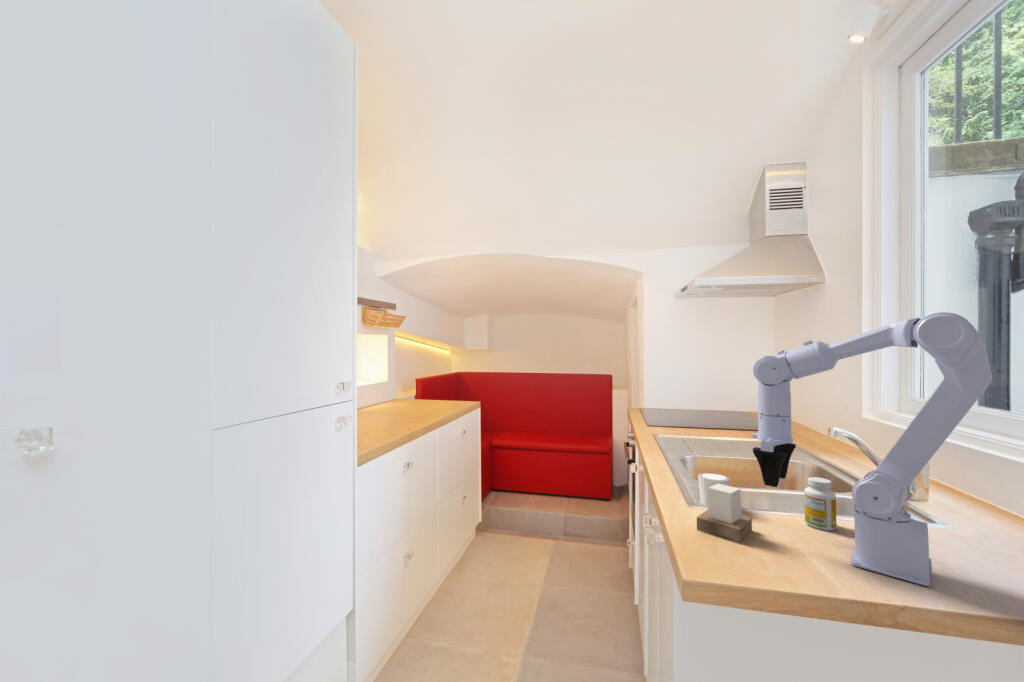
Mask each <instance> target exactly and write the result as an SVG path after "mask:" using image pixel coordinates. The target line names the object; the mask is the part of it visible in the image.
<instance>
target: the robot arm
mask: <svg viewBox="0 0 1024 682" xmlns="http://www.w3.org/2000/svg"><path fill="white" fill-rule="evenodd" d="M802 344H803V345H802V346H800V347H797V348H793V349H790V350H787V351H785V350H784V349H783V350H780V351H777V356H775V355H764V356H763V357H761V358H759V359H758V360H757V361H756V362H755V364H754V365H753V367H752V368H753V369H752V370H753V371H752V372H753V375H754V377H755V379H756V380H757V423H758V424H757V425H758V426H757V428H758V431H757V432H754V433H753V432H752V433H751V438H754V439H755V438H756V439H757V440H758V441H759V442H760V447H756V446H755V447H753V448H752V453H753V455H754V457H755V458H756V460H757V462H758V463H757V464H758V465H759V468H760V471H761V472H760V473H761V477H762V480H763V483H764V484H763V485H764V486H769V487H773V488H778V486H779V483H780V479H786V477H787V473H788V469H789V464H790V461H791V457H792V455H793V452H794V451H795V449H796V447H797V445H796V444H795V443H793V442H794V441H793V440H794V439H793V437H792V398H791V397H792V393H791V381H792V380H793V379H794V380H798V379H801V378H805V377H809V376H812V375H816V374H820V373H824V372H828V371H832V370H833V369H834V368H835V366H836V364H837V363H838V361H840V360H844V359H847V358H851V357H856V356H859V355H863V354H866V353H870V352H874V351H878V350H882V349H886V348H891V347H901V348H902V347H905V348H917V349H918V347H921V348H922V349H923V350H924V351H925V352H926V353H927V354H928V355H930V356H931V357H932V358H933V359H934V361H935V363H936V365H937V367H938V369H939V370H940V372H941V374H942V376H943V380H942V381H941V382H940V383H939V385H938V386H937V388H936V389H935V390H934V392H933V393H932V394H931V395H930V397H929V398H928V399H927V400H926V402H925V403H924V405H923V406H922V408H921V409H920V410H919V412H918V413H917V414H916V415H915V417H914V418H913V419H912V421H911V422H910V423H909V425H908V426H907V427H906V429H905V430H904V432H903V433H902V434H901V435H900V437H899V438H898V439H897V441H896V442H895V443H894V445H893V446H892V448H891V449H890V450H889V452H888V453H887V454H886V455H885V457H884V458H883V460H882V461H881V462H880V463H879V464H878V465H877V466H876V468H875V469H873V470H870V471H869V472H867V473H866V474H865V475H864V476H863V478H861V479H859V480H858V481H856V482H855V483H854V484H853V486H852V489H851V497H852V500H853V501H854V505H853V509H854V510H853V511H854V547H853V551H852V554H851V555H852V556H851V558H850V565H852V566H854V567H858V568H861V569H863V570H869V571H873V572H876V573H879V574H881V575H886V576H889V577H893V578H897V579H900V580H904V581H906V582H907V581H908V582H910V583H914V584H918V585H922V586H925V587H930V585H931V582H930V571H932V570H933V569H932V568H933V566H932V563H933V562H932V558H930V551H929V550H930V547H929V544H930V543H929V542H930V541H929V529H928V527H929V526H928V523H927V522H924V521H921V520H917V519H914V518H912V517H911V514H910V513H909V511H908V510H907V509H906V507H905V506H903V505H904V504H905V503H906V502H907V501H908V500H909V498H910V495H911V484H912V483H913V481H915V479H916V478H917V477H918V475H919V474H920V473H921V471H922V470H923V469H924V468H925V466H926V465H927V464H928V463H929V462H930V460H931V459H932V458H933V456H934V455H935V454H936V452H937V451H938V450H939V448H941V446H942V445H943V444H944V443H945V442H946V440H947V439H948V438H949V436H950V435H951V434H952V432H953V431H954V430H955V429H956V427H957V426H958V425H959V424H960V423H961V421H962V420H963V419H964V418H965V416H966V415H967V414H968V413H969V411H970V410H971V408H973V406H974V405H975V403H976V402H977V401H978V399H980V397H981V396H982V395H983V394H984V392H985V391H986V390H987V389H988V387H989V386H990V385H991V383H992V381H993V374H992V370H991V365H990V362H989V357H988V353H987V348H986V345H985V340H984V338H983V337H982V335H981V334H980V333H979V332H978V330H977V329H976V328H975V326H974V325H973V324H972V323H971V322H970V321H969V320H968V319H967V318H966V317H964V316H962V315H960V314H957V313H953V312H948V311H947V312H946V311H941V312H935V313H931V314H928V315H926V316H923V317H922V318H920V317H914V318H910V319H908V318H907V319H904V320H901V321H897V322H893V323H889V324H886V325H883V326H880V327H878V328H874V329H871V330H869V331H866V332H863V333H860V334H857V335H855V336H851V337H847V338H846V339H842V340H840V341H836V342H834V343H832V344H829V343H825V342H824V341H821V340H820V341H819V340H818V341H813V340H807V341H804V342H803V343H802Z"/></svg>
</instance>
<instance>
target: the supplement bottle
mask: <svg viewBox="0 0 1024 682" xmlns="http://www.w3.org/2000/svg"><path fill="white" fill-rule="evenodd" d="M807 484H808V486H807V487H805V488H804V490H803V491H804V495H803V496H804V522H805V524H806V525H807V526H809V527H812V528H814V529H818V530H821V531H835V530H836V529H837V527H838V526H837V494H836V493H835V492H834V491H833V490H831V489H832V488H833V487H832V485H833V483H832V481H831V480H830V479H827V478H823V477H818V476H817V477H816V476H813V477H812V476H811V477H810V476H809V477H808V478H807Z"/></svg>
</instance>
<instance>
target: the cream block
mask: <svg viewBox="0 0 1024 682" xmlns="http://www.w3.org/2000/svg"><path fill="white" fill-rule="evenodd" d="M741 497H742V496H741V488H740V487H735V486H731V485H729V486H726V485H722V484H716V485H713V486H711V487H708V508H707V510H708V513H709V517H710V518H714V519H717V520H720V521H723V522H726V523H730V524H732V523H734V522H736V521H737V520H739V519H741V515H742V508H741V507H742V506H741V505H742V504H741V503H742V501H741Z"/></svg>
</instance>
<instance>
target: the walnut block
mask: <svg viewBox="0 0 1024 682" xmlns="http://www.w3.org/2000/svg"><path fill="white" fill-rule="evenodd" d="M752 524H753V518H752V517H748V516H745V515H742V514H741V519H739V520H737V521H736V522H734V523H732V524H730V523H726V522H723V521H720V520H717V519H714V518H710V517H709V513H708V509H706V510H705V511H703V512H702V513H701V514H699V515H698V516H696V530H697V531H699V530H700V532H702V531H703V533H705V532H706V534H709V535H712V536H716V537H717V538H718V537H719V538H722V539H725V540H729V541H731V542H735V543H738V544H740V543H741V542H742V541H743V540H745V538H747V536H748V535H750V533H751V532H752V531H753V525H752Z"/></svg>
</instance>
